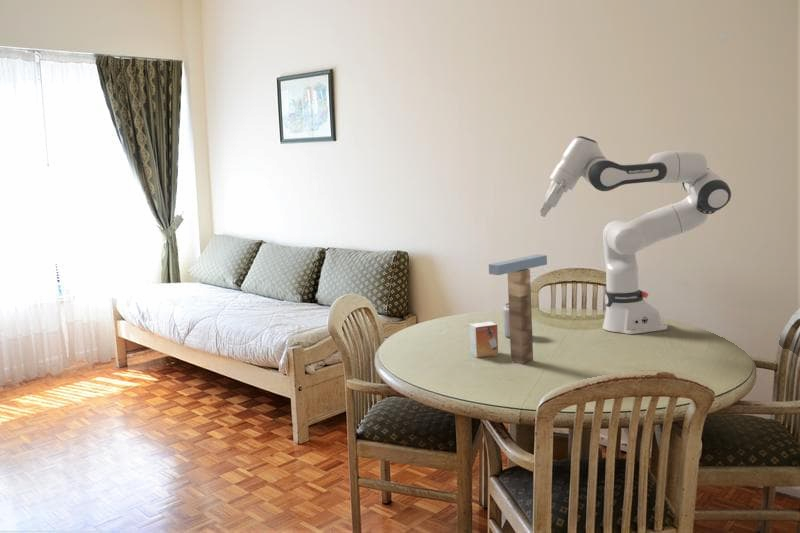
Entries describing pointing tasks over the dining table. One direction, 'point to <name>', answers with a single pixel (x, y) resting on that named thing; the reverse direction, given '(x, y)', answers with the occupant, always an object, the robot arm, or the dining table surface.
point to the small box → (484, 339)
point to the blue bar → (517, 264)
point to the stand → (520, 316)
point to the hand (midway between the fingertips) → (542, 214)
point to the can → (506, 320)
